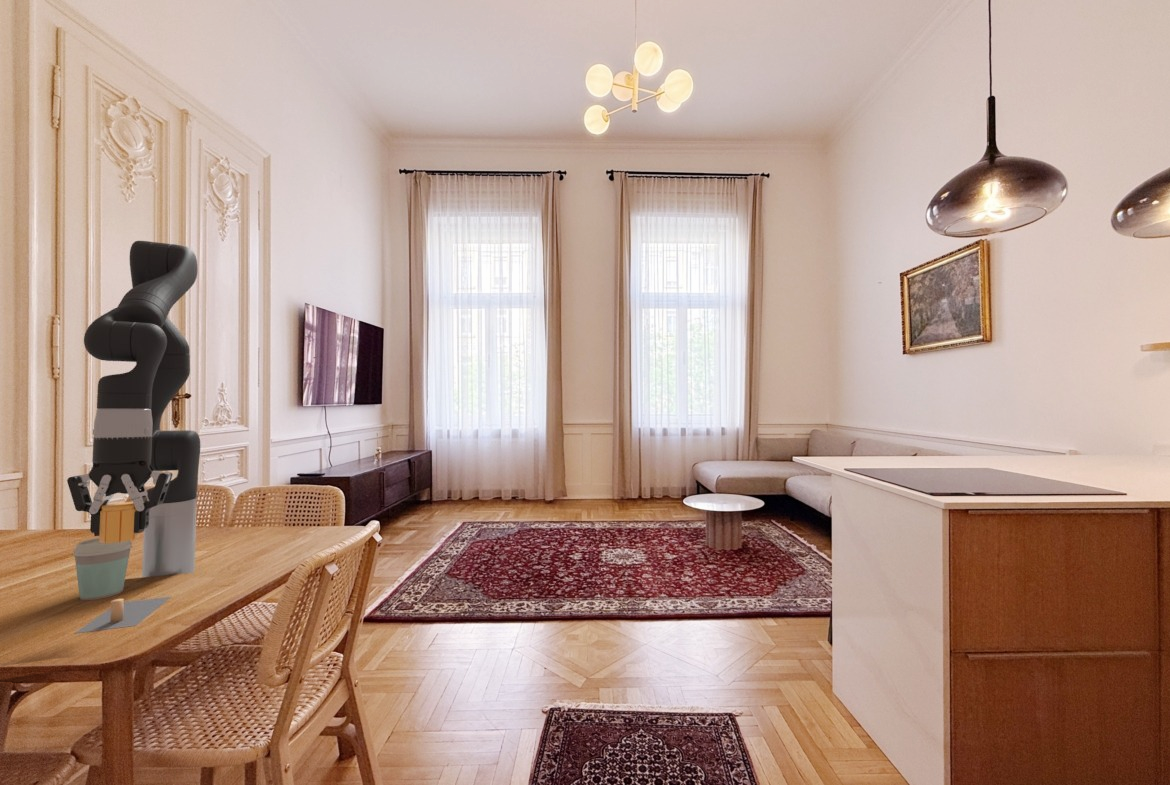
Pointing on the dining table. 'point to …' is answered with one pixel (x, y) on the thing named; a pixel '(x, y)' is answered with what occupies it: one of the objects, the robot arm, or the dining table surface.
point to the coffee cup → (101, 568)
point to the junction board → (123, 614)
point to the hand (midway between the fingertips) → (119, 533)
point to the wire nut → (117, 523)
